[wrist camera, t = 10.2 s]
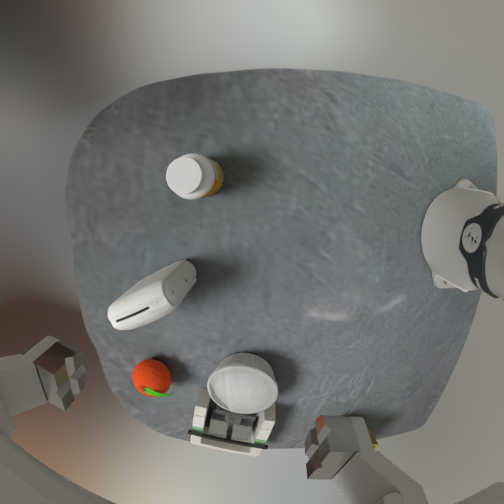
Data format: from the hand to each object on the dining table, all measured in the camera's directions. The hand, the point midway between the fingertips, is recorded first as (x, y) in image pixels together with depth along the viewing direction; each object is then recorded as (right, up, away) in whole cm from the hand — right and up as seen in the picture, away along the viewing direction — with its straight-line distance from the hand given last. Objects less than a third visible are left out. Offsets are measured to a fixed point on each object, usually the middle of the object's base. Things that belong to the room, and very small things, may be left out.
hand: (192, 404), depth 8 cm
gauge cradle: (-2, -28, +39) cm, 48 cm away
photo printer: (-11, +1, +33) cm, 35 cm away
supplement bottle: (-5, +15, +29) cm, 33 cm away
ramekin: (+1, -16, +36) cm, 40 cm away
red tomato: (-15, -16, +37) cm, 43 cm away
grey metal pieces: (-2, -26, +38) cm, 47 cm away
